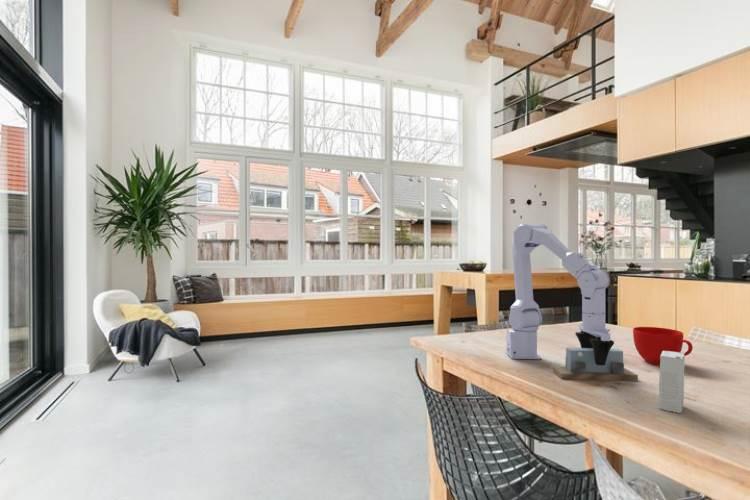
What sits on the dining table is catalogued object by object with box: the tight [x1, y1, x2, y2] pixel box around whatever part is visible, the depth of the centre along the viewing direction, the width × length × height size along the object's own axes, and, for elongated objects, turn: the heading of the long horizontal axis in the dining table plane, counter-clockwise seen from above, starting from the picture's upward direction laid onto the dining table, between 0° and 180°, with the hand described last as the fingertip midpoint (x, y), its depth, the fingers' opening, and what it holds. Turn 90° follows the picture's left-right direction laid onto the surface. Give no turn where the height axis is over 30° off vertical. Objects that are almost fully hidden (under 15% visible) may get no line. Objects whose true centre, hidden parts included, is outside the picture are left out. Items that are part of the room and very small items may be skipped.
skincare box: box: [658, 351, 686, 414], centre depth 89 cm, size 6×4×12 cm
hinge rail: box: [552, 362, 639, 382], centre depth 112 cm, size 20×6×4 cm, turn 85°
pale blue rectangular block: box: [565, 347, 624, 373], centre depth 111 cm, size 14×4×6 cm, turn 85°
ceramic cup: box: [632, 326, 694, 366], centre depth 123 cm, size 13×17×10 cm
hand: (593, 361), depth 112 cm, fingers open, 7 cm apart
